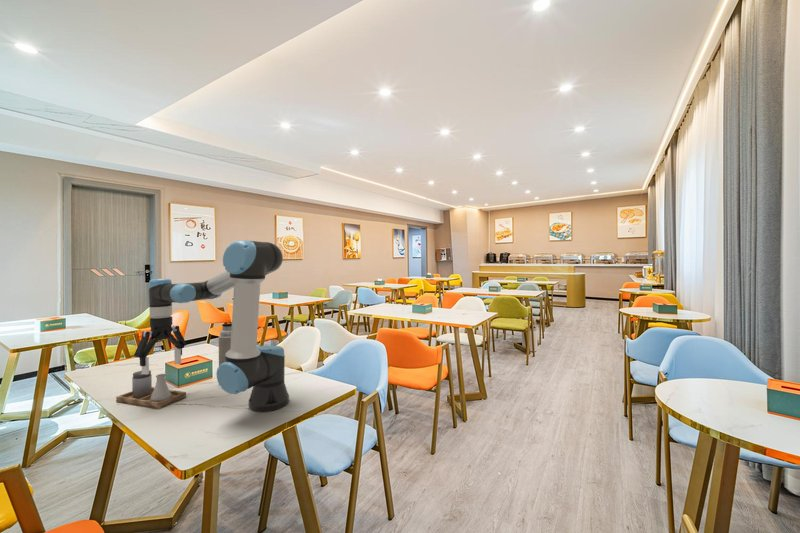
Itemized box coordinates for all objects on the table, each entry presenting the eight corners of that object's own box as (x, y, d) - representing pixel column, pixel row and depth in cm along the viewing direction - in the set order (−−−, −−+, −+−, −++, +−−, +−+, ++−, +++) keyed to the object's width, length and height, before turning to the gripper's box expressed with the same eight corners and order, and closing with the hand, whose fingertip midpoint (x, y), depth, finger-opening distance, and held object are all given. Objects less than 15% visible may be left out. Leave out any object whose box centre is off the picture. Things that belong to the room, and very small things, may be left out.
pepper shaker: (155, 394, 142) (155, 370, 142) (139, 400, 136) (139, 375, 136) (144, 392, 144) (144, 369, 144) (128, 398, 138) (128, 374, 138)
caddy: (186, 397, 141) (186, 392, 141) (158, 409, 129) (158, 403, 129) (146, 391, 148) (146, 386, 148) (116, 402, 136) (116, 396, 136)
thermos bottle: (225, 379, 162) (225, 322, 162) (241, 380, 162) (240, 322, 161) (215, 385, 155) (214, 325, 154) (231, 386, 154) (231, 325, 153)
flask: (159, 403, 133) (159, 378, 133) (145, 401, 135) (145, 377, 135) (176, 396, 140) (175, 372, 140) (162, 394, 142) (162, 371, 142)
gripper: (182, 312, 150) (183, 359, 150) (121, 321, 126) (122, 378, 126) (195, 312, 147) (196, 360, 147) (135, 322, 124) (137, 379, 124)
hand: (162, 368), depth 137 cm, fingers open, 13 cm apart
